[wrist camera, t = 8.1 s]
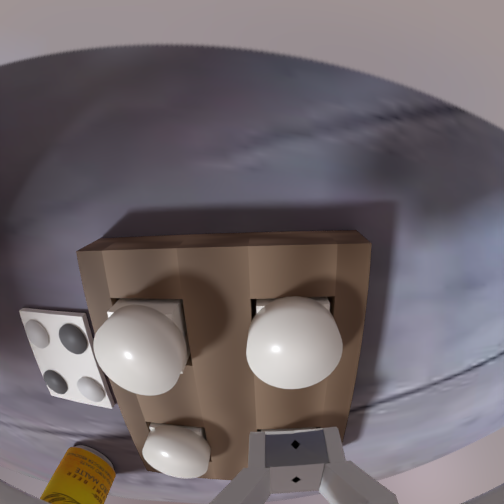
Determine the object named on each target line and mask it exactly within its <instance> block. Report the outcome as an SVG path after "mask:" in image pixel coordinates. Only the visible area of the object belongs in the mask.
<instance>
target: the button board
mask: <svg viewBox="0 0 504 504" xmlns="http://www.w3.org/2000/svg"><path fill="white" fill-rule="evenodd" d="M371 245H372V243H371V242H369V241H368V240H367V239H366V238H365V237H364V236H362V235H361V234H360V233H359V232H358V231H356V230H337V231H287V232H249V233H217V234H189V235H164V236H141V237H119V238H100V239H98V240H96V241H94V242H92V243H91V244H89V245H87V246H85V247H83V248H82V249H80V250H78V251H76V253H77V259H78V264H79V269H80V274H81V279H82V284H83V288H84V293H85V297H86V301H87V306H88V310H89V314H90V318H91V321H92V325H93V329H94V332H95V334H96V332H97V331H98V329H99V328H100V327H101V326H102V325H103V324H104V322H105V321H106V320H107V319H108V314H107V311H108V310H109V309H110V308H111V307H112V306H113V305H114V304H115V303H116V302H117V301H118V300H119V299H120V298H136V299H183V306H184V314H185V321H186V327H187V334H188V341H189V347H190V355H189V358H188V360H187V363H186V366H185V368H184V371H183V374H180V375H179V378H178V380H177V382H176V384H175V385H174V386H173V388H172V389H170V390H169V391H167V392H165V393H163V394H159V395H152V396H148V395H140V394H136V393H133V392H130V391H128V390H126V389H124V388H122V387H120V386H119V385H117V384H116V383H115V382H113V381H112V380H111V379H110V378H109V377H108V378H109V381H110V383H111V386H112V389H113V392H114V395H115V397H116V400H117V403H118V405H119V408H120V410H121V413H122V415H123V418H124V420H125V423H126V425H127V428H128V430H129V432H130V435H131V437H132V439H133V442H134V444H135V446H136V448H137V450H138V453H139V455H140V457H141V459H142V461H143V463H144V465H145V467H146V469H147V471H152V472H158V473H162V472H160V471H158V470H156V469H155V468H153V467H152V466H151V465H150V464H148V462H147V461H146V460H145V459H144V457H143V454H142V450H143V447H144V445H145V442H146V440H147V437H148V434H149V432H150V431H151V430H150V428H149V426H150V424H151V422H153V423H161V424H170V425H179V426H191V427H204V428H205V433H206V438H207V442H208V444H209V446H210V448H211V453H210V459H209V464H208V469H207V471H206V473H205V474H204V475H202V476H200V477H196V478H207V479H221V480H233V479H234V478H235V477H236V476H237V475H238V473H239V472H240V471H241V470H242V469H243V468H248V455H249V435H250V432H261V429H292V428H311V427H316V429H317V428H329V427H337V428H338V430H339V434H340V438H341V442H343V438H344V434H345V429H346V425H347V420H348V416H349V411H350V406H351V401H352V396H353V391H354V386H355V380H356V374H357V369H358V363H359V356H360V350H361V343H362V336H363V329H364V321H365V312H366V304H367V294H368V284H369V273H370V260H371ZM292 296H300V297H327V298H328V300H329V303H330V313H331V314H332V316H333V318H334V320H335V322H336V325H337V327H338V330H339V333H340V335H341V339H342V344H343V350H342V356H341V358H340V361H339V363H338V365H337V366H336V368H335V369H334V370H333V372H332V373H331V374H330V375H329V376H327V377H326V378H325V379H323V380H322V381H320V382H318V383H316V384H314V385H312V386H309V387H305V388H300V389H282V388H278V387H274V386H271V385H269V384H267V383H265V382H264V381H262V380H261V379H259V378H258V377H257V376H256V375H255V374H254V373H253V371H252V370H251V368H250V366H249V364H248V361H247V356H246V349H247V340H248V331H249V327H250V324H251V322H252V320H253V318H254V316H255V315H256V314H257V313H256V303H257V299H268V298H284V297H292Z"/></svg>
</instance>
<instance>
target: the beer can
mask: <svg viewBox="0 0 504 504" xmlns="http://www.w3.org/2000/svg"><path fill="white" fill-rule="evenodd" d="M115 476H116V474H115V471H114V469H113V465H112V463H111V462H110V461H109V460H108V459H107V458H106V457H105V456H104V455H102V454H101V453H100V452H98V451H96V450H94V449H92V448H90V447H87V446H83V445H78V446H75V447H70V448H69V449H68V450H67V452H66V454H65V455H64V457H63V459H62V461H61V462H60V464H59V466H58V467H57V469H56V471H55V473H54V474H53V476H52V478H51V480H50V481H49V483H48V485H47V487H46V489H45V490H44V492H43V494H42V496H41V498H40V499H41V500H44V501H46V502H48V503H51V504H104V502H105V500H106V497H107V495H108V493H109V490H110V488H111V486H112V483H113V481H114V478H115Z"/></svg>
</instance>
